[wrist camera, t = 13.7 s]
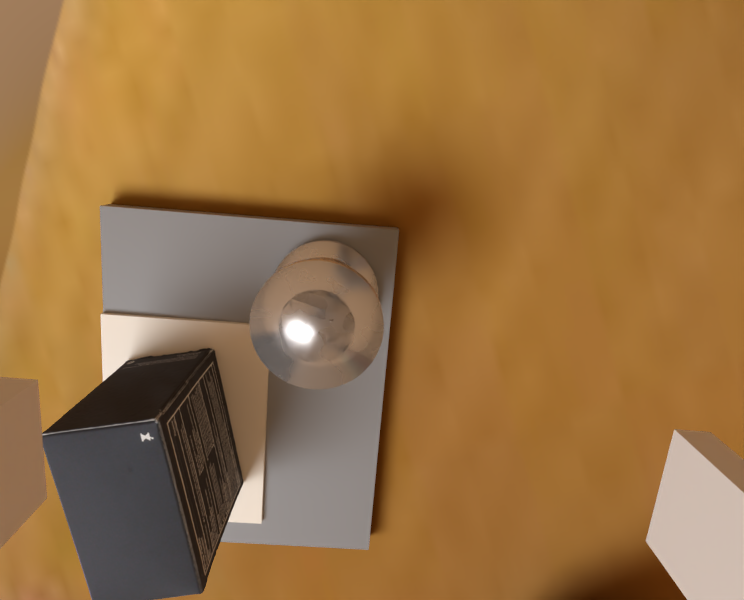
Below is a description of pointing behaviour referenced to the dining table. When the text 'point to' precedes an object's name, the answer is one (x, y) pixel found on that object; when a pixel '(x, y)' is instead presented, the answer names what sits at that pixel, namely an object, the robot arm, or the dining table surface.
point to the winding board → (252, 361)
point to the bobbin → (318, 316)
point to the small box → (148, 476)
